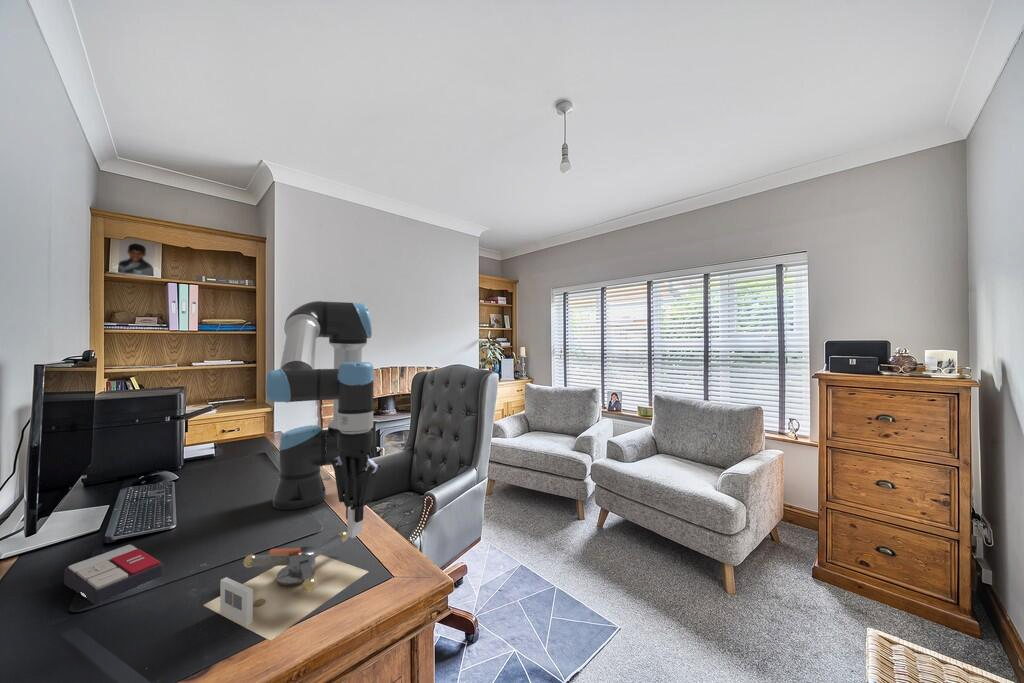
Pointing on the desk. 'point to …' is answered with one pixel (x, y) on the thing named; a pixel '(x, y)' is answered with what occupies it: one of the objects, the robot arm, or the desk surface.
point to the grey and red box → (112, 573)
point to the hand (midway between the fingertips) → (354, 534)
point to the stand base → (292, 596)
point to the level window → (236, 601)
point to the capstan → (295, 562)
